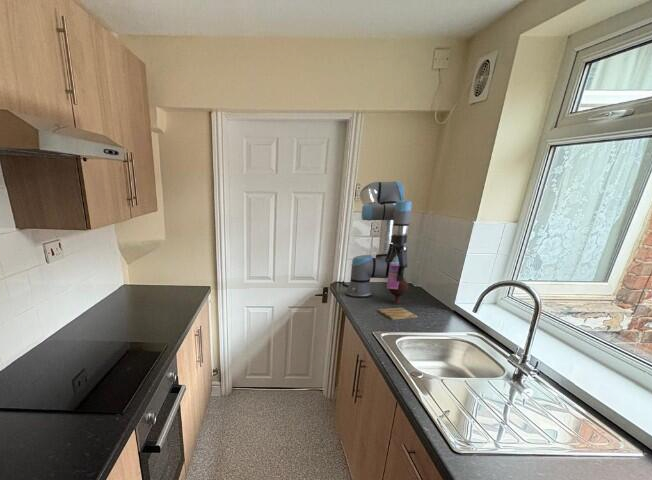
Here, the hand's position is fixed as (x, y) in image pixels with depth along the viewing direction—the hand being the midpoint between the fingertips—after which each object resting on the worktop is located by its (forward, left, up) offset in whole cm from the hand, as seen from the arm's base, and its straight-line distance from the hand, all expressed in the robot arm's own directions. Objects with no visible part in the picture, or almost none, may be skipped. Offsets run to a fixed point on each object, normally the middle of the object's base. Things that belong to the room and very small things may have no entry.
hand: (393, 278), depth 215 cm
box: (0, 0, -4) cm, 4 cm away
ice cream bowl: (-16, +13, -18) cm, 27 cm away
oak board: (+5, +2, -18) cm, 19 cm away
